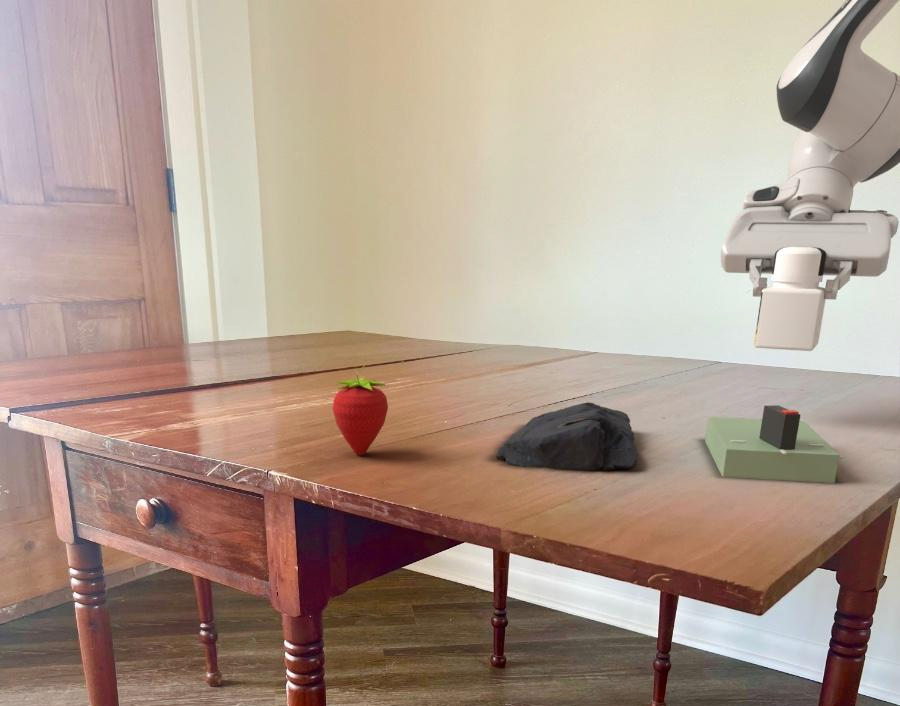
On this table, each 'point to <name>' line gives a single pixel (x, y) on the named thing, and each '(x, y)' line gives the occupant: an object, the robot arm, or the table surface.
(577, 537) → the table surface
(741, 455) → the console
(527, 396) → the table surface
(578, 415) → the dark slate chunk
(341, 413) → the strawberry
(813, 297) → the medicine bottle
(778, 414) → the dark grey block
